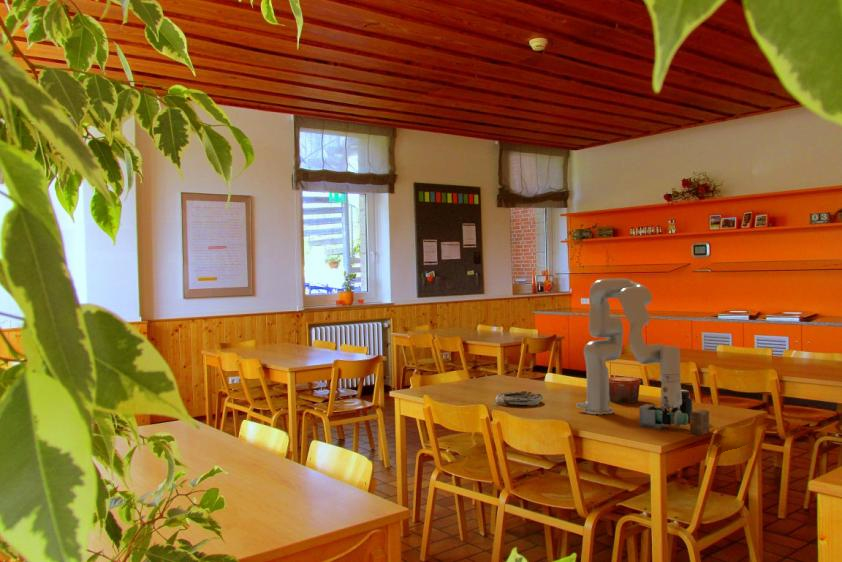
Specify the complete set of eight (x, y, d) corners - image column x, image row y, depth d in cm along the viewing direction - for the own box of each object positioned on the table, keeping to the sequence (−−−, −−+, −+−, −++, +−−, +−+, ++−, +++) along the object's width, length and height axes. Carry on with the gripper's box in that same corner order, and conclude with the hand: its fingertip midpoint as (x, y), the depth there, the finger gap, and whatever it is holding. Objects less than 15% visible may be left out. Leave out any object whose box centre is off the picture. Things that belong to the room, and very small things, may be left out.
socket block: (690, 434, 271) (689, 413, 271) (698, 430, 277) (697, 409, 277) (701, 435, 268) (701, 414, 268) (709, 431, 274) (708, 411, 274)
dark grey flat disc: (530, 396, 357) (530, 387, 357) (561, 407, 332) (561, 396, 332) (481, 402, 346) (480, 392, 346) (509, 413, 321) (509, 402, 321)
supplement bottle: (695, 421, 292) (695, 392, 291) (679, 422, 291) (679, 392, 291) (688, 418, 298) (687, 389, 298) (672, 418, 298) (671, 390, 298)
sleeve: (639, 426, 285) (639, 406, 284) (646, 423, 290) (646, 404, 290) (660, 429, 279) (659, 409, 279) (667, 426, 284) (666, 406, 284)
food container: (638, 398, 345) (638, 376, 344) (644, 404, 329) (643, 381, 329) (604, 398, 347) (604, 376, 347) (608, 404, 331) (608, 381, 331)
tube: (643, 423, 284) (642, 407, 284) (649, 421, 289) (649, 405, 289) (683, 429, 273) (682, 412, 273) (689, 426, 278) (689, 409, 278)
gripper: (670, 381, 270) (671, 427, 271) (688, 375, 283) (689, 419, 284) (651, 380, 275) (652, 425, 276) (669, 374, 288) (670, 417, 289)
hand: (671, 422), depth 280 cm, fingers open, 8 cm apart
